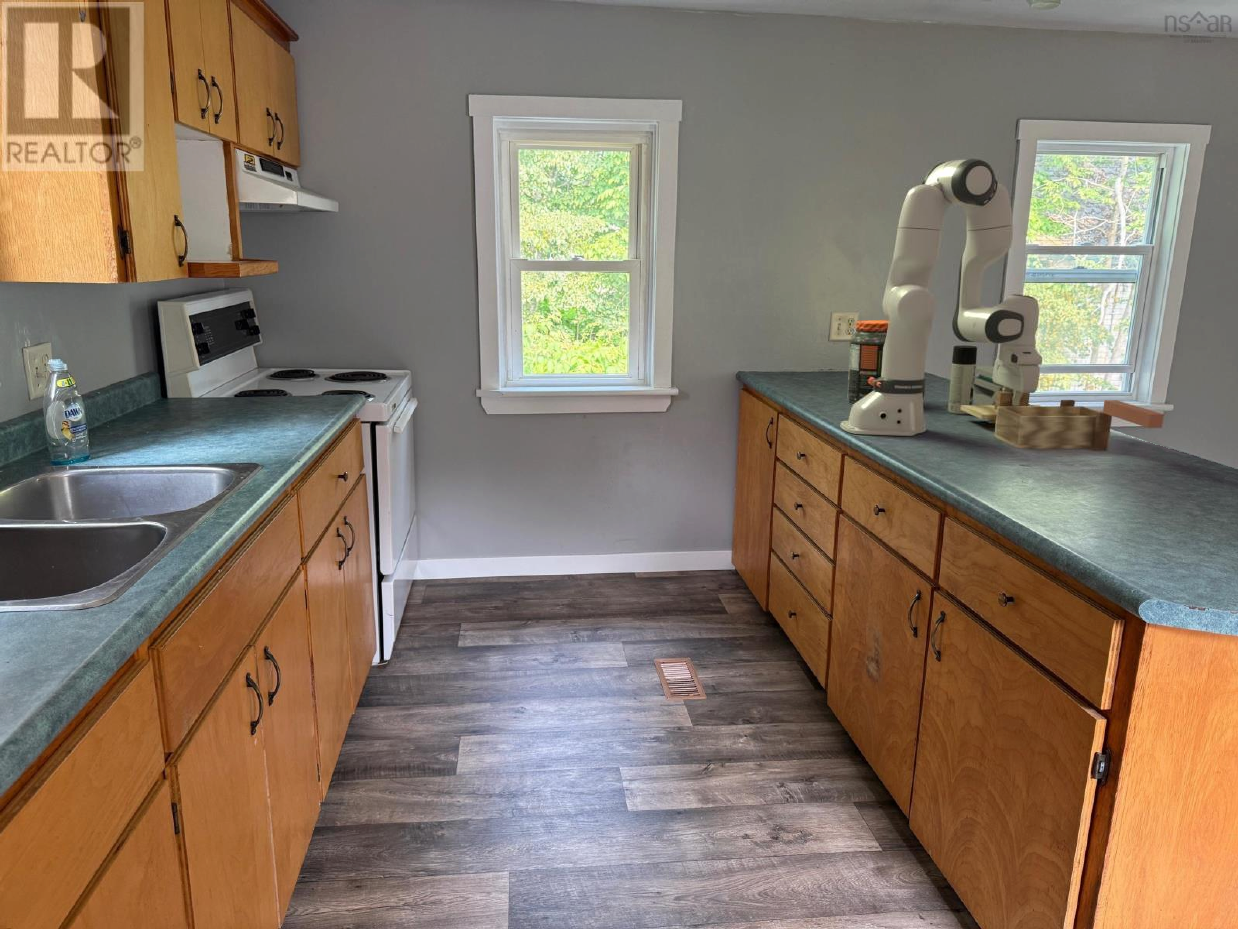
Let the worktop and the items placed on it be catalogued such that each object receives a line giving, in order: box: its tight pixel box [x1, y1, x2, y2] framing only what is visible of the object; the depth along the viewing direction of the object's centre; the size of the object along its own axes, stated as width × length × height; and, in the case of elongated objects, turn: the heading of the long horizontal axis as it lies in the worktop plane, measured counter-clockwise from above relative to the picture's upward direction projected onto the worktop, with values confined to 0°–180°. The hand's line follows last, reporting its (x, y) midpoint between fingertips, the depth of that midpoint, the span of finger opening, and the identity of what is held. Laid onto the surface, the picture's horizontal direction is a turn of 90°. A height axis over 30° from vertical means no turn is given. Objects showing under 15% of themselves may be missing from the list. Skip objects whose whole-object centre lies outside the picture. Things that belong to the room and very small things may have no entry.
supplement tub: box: [847, 319, 889, 404], centre depth 271 cm, size 16×16×26 cm
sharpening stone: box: [973, 365, 1013, 405], centre depth 266 cm, size 25×8×11 cm, turn 0°
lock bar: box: [1102, 399, 1165, 429], centre depth 194 cm, size 3×18×3 cm, turn 0°
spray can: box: [947, 345, 978, 415], centre depth 253 cm, size 7×7×20 cm
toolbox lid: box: [961, 391, 1041, 424], centre depth 237 cm, size 22×14×8 cm, turn 90°
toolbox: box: [993, 399, 1113, 451], centre depth 214 cm, size 22×19×9 cm
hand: (1011, 404), depth 236 cm, fingers closed on toolbox lid, 3 cm apart
